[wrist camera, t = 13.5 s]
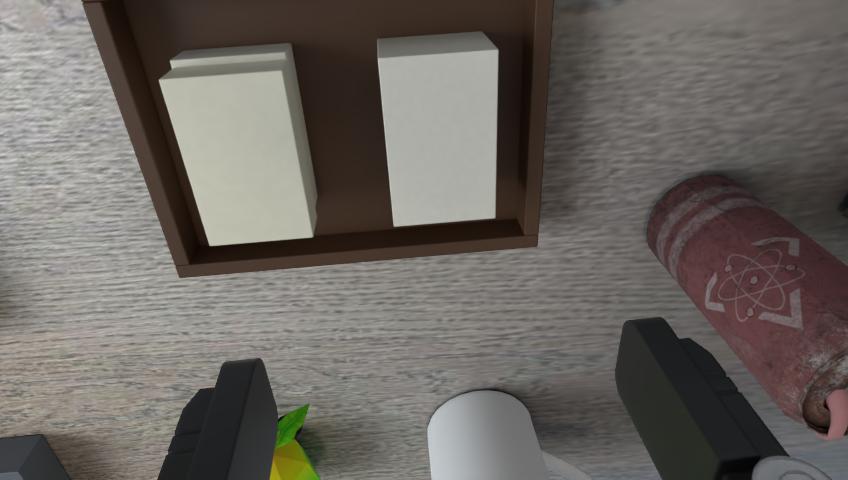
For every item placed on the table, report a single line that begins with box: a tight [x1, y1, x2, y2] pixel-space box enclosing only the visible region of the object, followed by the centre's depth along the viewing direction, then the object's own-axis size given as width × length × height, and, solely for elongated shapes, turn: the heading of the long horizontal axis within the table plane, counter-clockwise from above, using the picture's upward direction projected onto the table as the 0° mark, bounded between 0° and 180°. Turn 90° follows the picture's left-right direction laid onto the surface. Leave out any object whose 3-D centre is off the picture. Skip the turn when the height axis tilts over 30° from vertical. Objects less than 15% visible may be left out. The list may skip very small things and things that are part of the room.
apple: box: [270, 403, 321, 480], centre depth 38 cm, size 7×6×9 cm
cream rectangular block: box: [377, 31, 499, 227], centre depth 26 cm, size 8×5×4 cm, turn 3°
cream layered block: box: [159, 43, 318, 246], centre depth 26 cm, size 8×5×4 cm, turn 3°
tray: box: [81, 0, 554, 278], centre depth 27 cm, size 15×20×3 cm
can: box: [646, 176, 848, 440], centre depth 27 cm, size 6×6×14 cm
